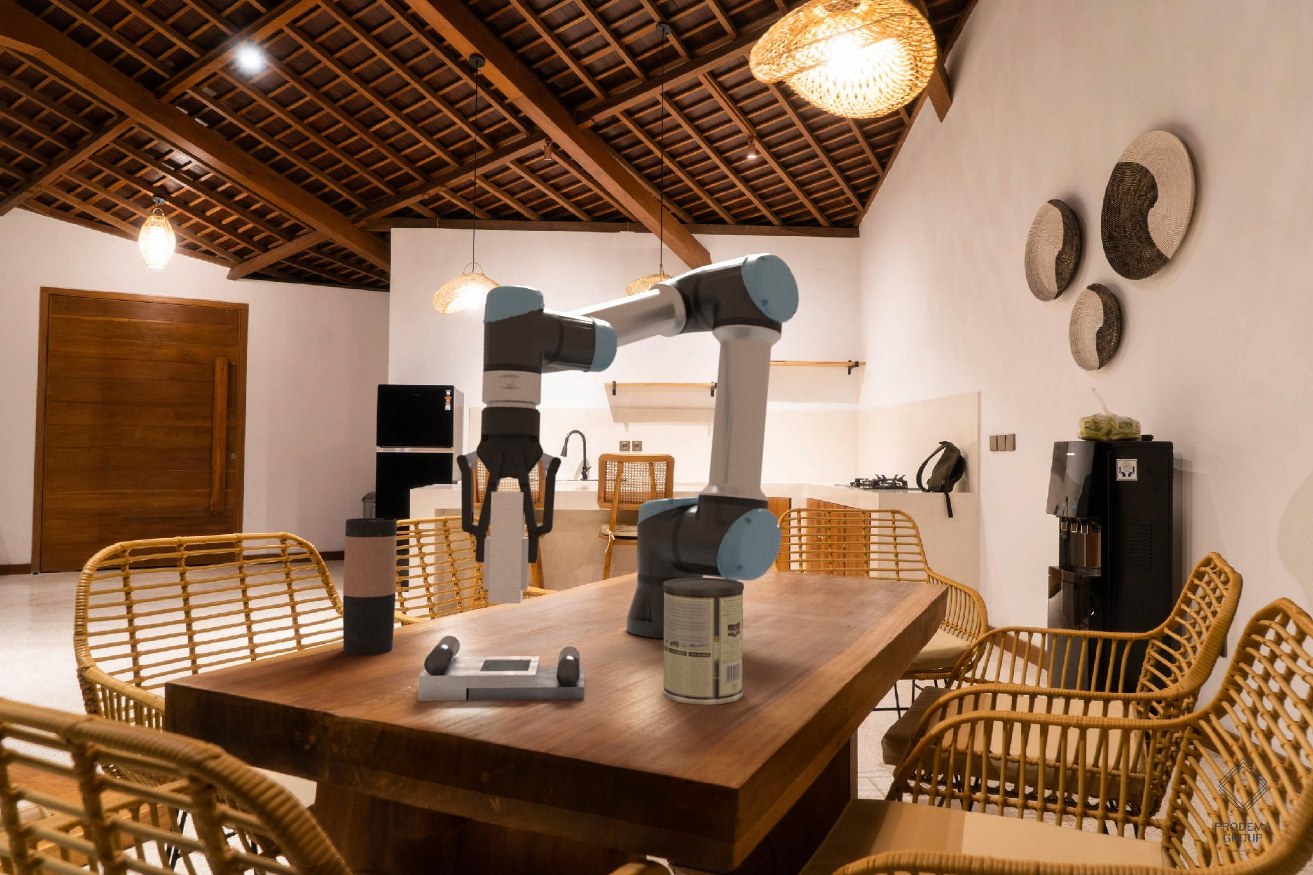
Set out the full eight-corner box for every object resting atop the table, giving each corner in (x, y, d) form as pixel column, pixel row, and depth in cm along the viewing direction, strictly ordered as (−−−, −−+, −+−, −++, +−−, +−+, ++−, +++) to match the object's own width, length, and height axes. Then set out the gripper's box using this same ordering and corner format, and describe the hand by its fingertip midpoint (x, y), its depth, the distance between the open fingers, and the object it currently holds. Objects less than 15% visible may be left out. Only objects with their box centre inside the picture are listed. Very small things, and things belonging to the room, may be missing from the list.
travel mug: (339, 656, 122) (343, 521, 123) (343, 645, 129) (347, 517, 130) (393, 654, 124) (397, 520, 125) (394, 643, 131) (398, 517, 132)
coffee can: (673, 680, 111) (674, 575, 112) (748, 687, 108) (750, 579, 109) (652, 701, 101) (653, 585, 102) (735, 708, 99) (736, 590, 99)
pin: (522, 598, 108) (525, 491, 109) (520, 603, 104) (523, 492, 105) (491, 598, 108) (494, 491, 108) (488, 603, 104) (491, 491, 104)
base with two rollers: (583, 678, 112) (584, 635, 112) (583, 699, 102) (584, 651, 102) (433, 679, 110) (434, 635, 110) (418, 700, 100) (419, 652, 100)
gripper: (439, 402, 102) (433, 592, 102) (577, 406, 104) (572, 593, 103) (449, 407, 110) (443, 583, 109) (577, 410, 111) (573, 585, 110)
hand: (506, 588), depth 106 cm, fingers closed on pin, 4 cm apart
